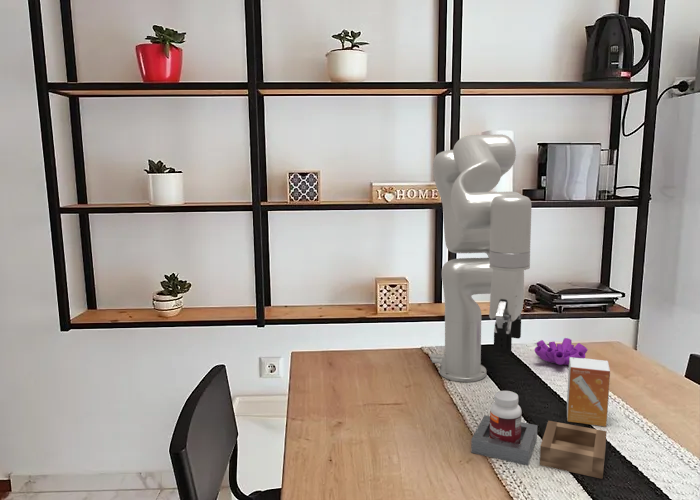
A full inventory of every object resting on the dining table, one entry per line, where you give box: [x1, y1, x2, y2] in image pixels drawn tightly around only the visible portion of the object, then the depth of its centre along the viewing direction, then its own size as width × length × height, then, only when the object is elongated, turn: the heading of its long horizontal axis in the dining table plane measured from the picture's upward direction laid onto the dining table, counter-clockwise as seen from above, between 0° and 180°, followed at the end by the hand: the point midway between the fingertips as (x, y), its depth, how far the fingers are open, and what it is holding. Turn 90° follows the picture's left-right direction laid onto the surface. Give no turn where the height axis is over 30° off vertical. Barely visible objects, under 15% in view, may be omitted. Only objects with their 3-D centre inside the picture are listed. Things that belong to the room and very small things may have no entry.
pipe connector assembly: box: [534, 337, 589, 366], centre depth 155 cm, size 11×15×10 cm
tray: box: [539, 420, 608, 480], centre depth 109 cm, size 11×11×4 cm
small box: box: [566, 357, 611, 428], centre depth 123 cm, size 8×6×13 cm
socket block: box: [470, 414, 538, 466], centre depth 114 cm, size 11×11×3 cm
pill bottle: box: [489, 390, 523, 444], centre depth 113 cm, size 6×6×11 cm
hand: (507, 344), depth 110 cm, fingers open, 9 cm apart
